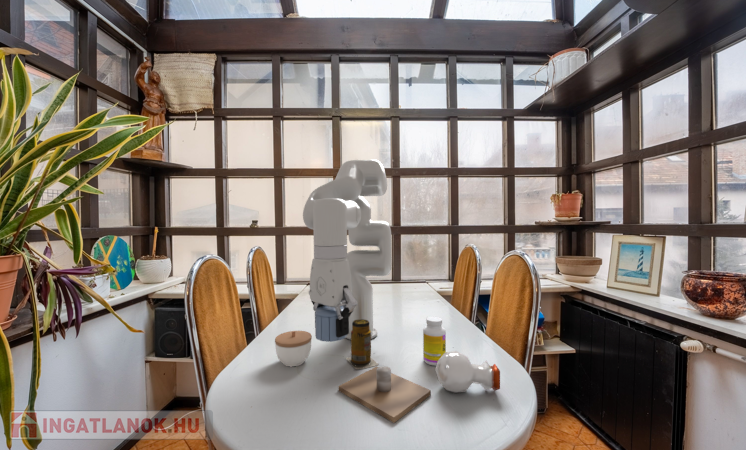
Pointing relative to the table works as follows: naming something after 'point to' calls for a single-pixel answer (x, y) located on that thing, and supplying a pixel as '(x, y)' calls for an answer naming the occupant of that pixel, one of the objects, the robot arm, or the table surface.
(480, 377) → the potion bottle
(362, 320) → the condiment
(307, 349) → the lidded jar
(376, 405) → the post base
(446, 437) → the table surface
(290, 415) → the table surface
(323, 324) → the cap
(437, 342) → the supplement bottle
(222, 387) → the table surface
